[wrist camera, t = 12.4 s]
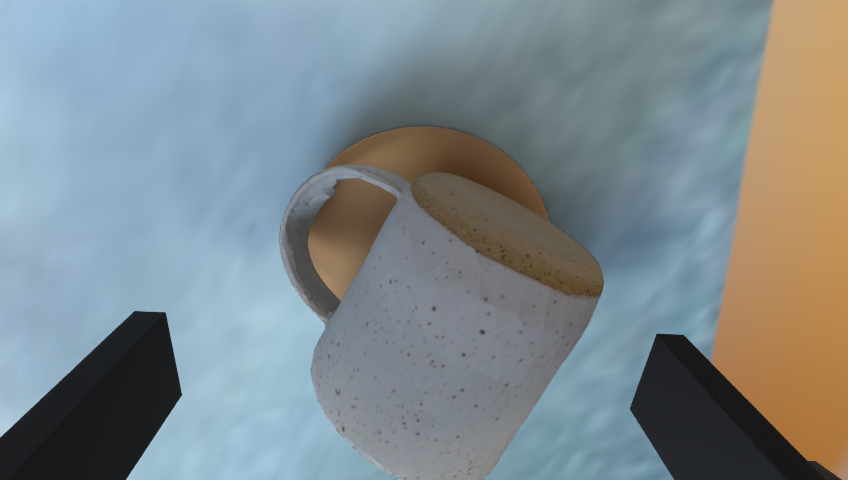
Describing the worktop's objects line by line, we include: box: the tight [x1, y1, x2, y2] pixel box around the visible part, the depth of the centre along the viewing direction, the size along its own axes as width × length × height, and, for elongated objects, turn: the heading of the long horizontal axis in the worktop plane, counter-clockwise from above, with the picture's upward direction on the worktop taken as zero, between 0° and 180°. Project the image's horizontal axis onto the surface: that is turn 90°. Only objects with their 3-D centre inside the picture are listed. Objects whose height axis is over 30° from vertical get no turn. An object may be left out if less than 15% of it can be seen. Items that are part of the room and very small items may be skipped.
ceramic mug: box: [279, 164, 604, 480], centre depth 14 cm, size 11×8×8 cm
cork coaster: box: [308, 126, 549, 301], centre depth 18 cm, size 11×11×1 cm
